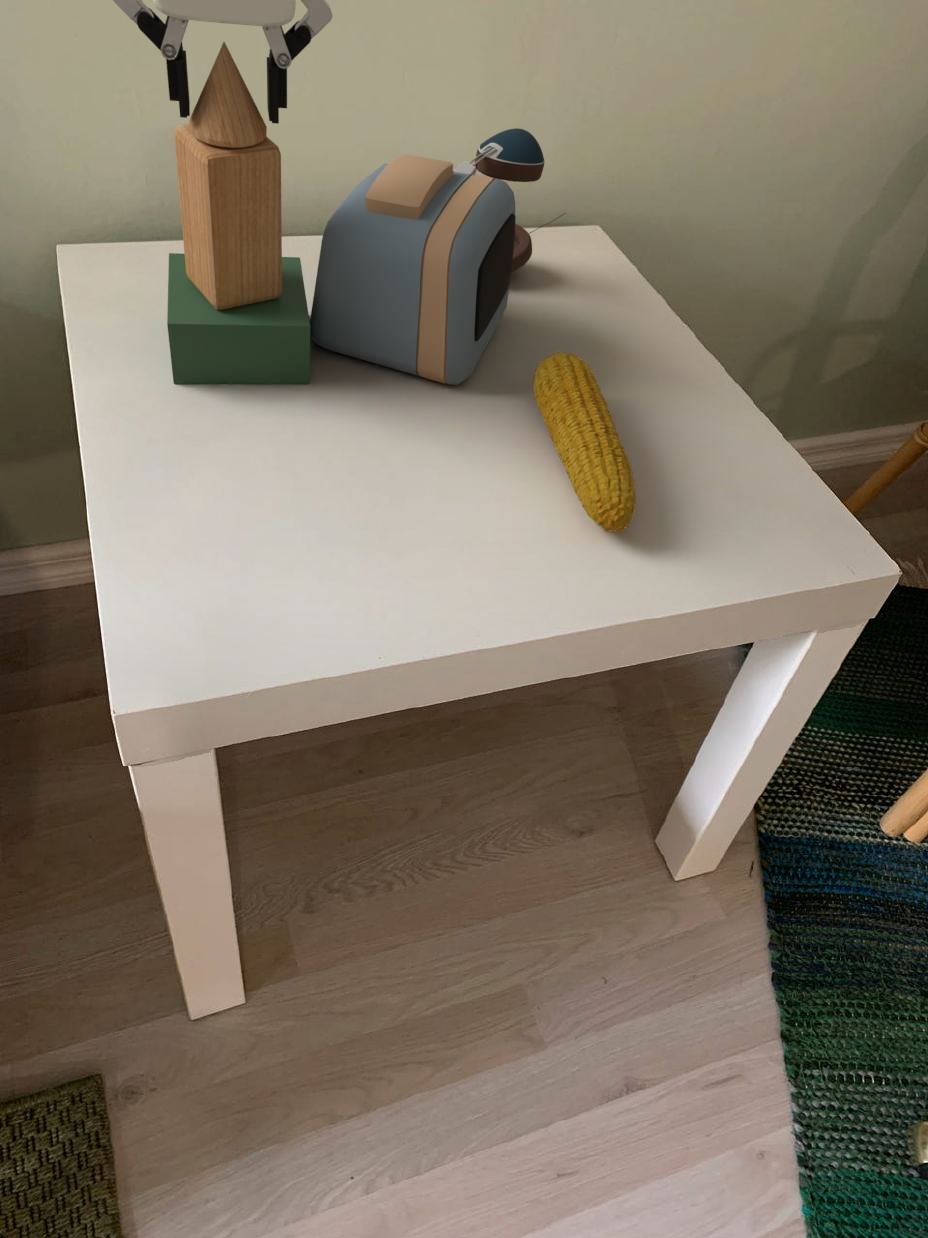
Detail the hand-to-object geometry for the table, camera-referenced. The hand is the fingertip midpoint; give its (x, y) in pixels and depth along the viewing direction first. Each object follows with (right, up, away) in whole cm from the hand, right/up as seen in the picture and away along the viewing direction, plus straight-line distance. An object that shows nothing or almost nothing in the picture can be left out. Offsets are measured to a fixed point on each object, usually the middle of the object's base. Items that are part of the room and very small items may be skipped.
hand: (229, 111), depth 74 cm
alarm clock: (+13, -11, +21) cm, 27 cm away
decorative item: (-2, -10, +11) cm, 15 cm away
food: (+29, -26, +11) cm, 40 cm away
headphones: (+22, -1, +31) cm, 38 cm away
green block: (-3, -14, +16) cm, 21 cm away
